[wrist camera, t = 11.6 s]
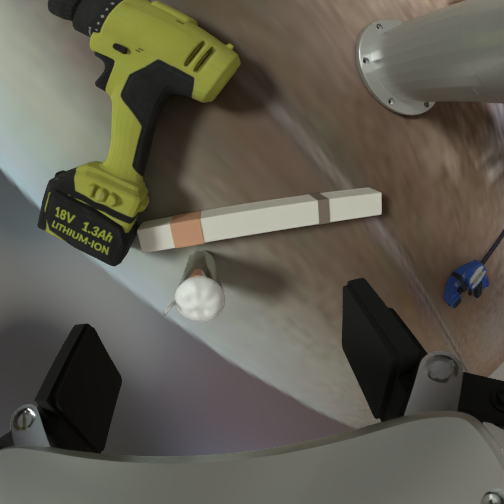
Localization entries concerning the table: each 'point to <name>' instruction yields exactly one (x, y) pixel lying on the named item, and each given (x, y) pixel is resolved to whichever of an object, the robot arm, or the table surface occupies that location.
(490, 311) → the table surface
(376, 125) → the table surface
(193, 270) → the milkshake
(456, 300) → the bar clamp
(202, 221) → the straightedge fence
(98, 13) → the cordless drill
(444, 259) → the table surface
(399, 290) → the table surface
